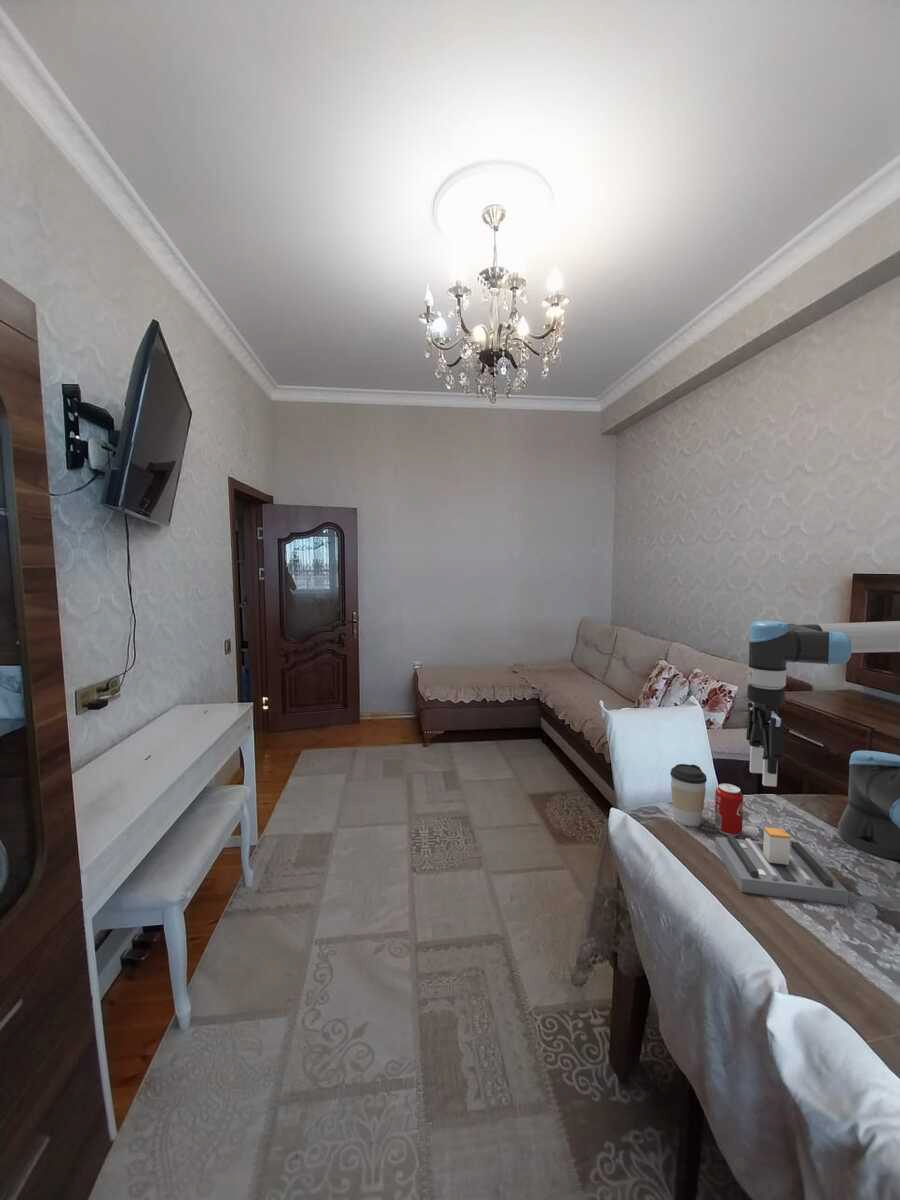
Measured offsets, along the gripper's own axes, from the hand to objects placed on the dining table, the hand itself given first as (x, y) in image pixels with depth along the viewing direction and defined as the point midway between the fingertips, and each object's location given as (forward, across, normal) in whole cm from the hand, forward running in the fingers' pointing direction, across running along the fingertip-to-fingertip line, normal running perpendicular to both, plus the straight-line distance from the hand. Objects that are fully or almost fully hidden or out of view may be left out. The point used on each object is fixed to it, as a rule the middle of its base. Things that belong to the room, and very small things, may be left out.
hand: (762, 778), depth 112 cm
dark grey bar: (+19, +8, +7) cm, 22 cm away
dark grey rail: (+19, +8, -7) cm, 22 cm away
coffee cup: (+19, -13, -13) cm, 27 cm away
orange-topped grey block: (+15, +8, 0) cm, 17 cm away
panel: (+19, +8, 0) cm, 21 cm away
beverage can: (+19, -9, -4) cm, 22 cm away
